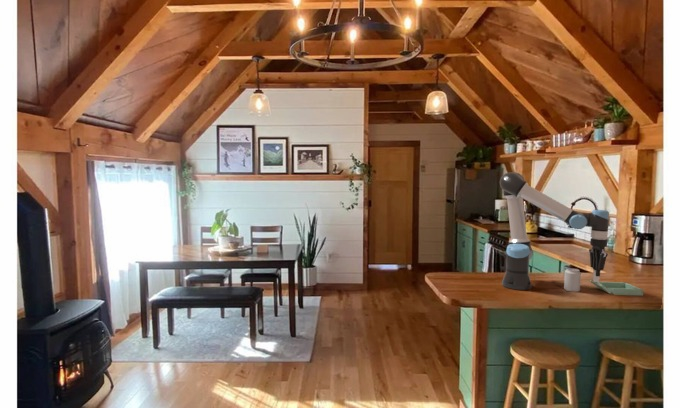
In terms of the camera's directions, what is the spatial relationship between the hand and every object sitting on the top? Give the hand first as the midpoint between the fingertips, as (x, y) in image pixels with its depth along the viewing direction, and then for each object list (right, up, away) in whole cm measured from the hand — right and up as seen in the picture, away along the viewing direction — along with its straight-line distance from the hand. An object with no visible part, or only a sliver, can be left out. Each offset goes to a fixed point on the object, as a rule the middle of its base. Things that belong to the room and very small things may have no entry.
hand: (596, 281), depth 207 cm
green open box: (+12, -6, 0) cm, 13 cm away
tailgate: (+5, -5, 0) cm, 7 cm away
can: (-12, -6, +1) cm, 14 cm away
